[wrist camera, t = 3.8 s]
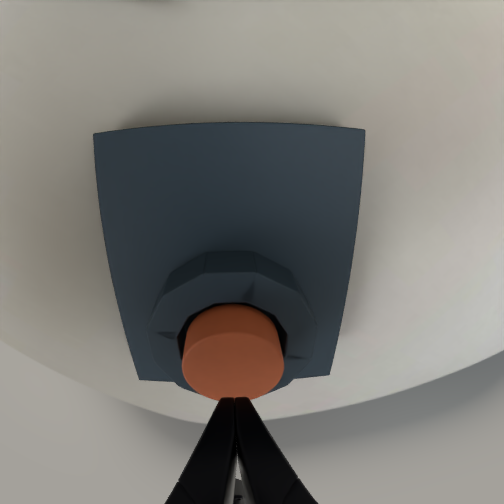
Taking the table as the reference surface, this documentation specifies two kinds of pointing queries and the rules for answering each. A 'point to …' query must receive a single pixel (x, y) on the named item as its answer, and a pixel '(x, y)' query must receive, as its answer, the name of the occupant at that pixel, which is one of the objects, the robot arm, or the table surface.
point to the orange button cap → (232, 353)
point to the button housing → (230, 233)
